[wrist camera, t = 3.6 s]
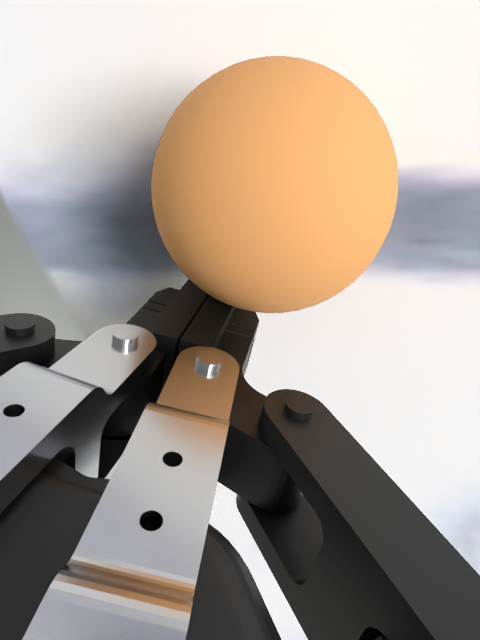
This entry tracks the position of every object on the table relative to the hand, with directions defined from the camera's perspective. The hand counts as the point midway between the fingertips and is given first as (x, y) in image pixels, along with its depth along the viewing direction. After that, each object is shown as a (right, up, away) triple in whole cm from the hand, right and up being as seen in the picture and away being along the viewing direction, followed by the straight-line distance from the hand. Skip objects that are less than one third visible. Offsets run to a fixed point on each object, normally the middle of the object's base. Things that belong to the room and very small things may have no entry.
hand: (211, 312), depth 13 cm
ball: (+2, +3, -3) cm, 4 cm away
